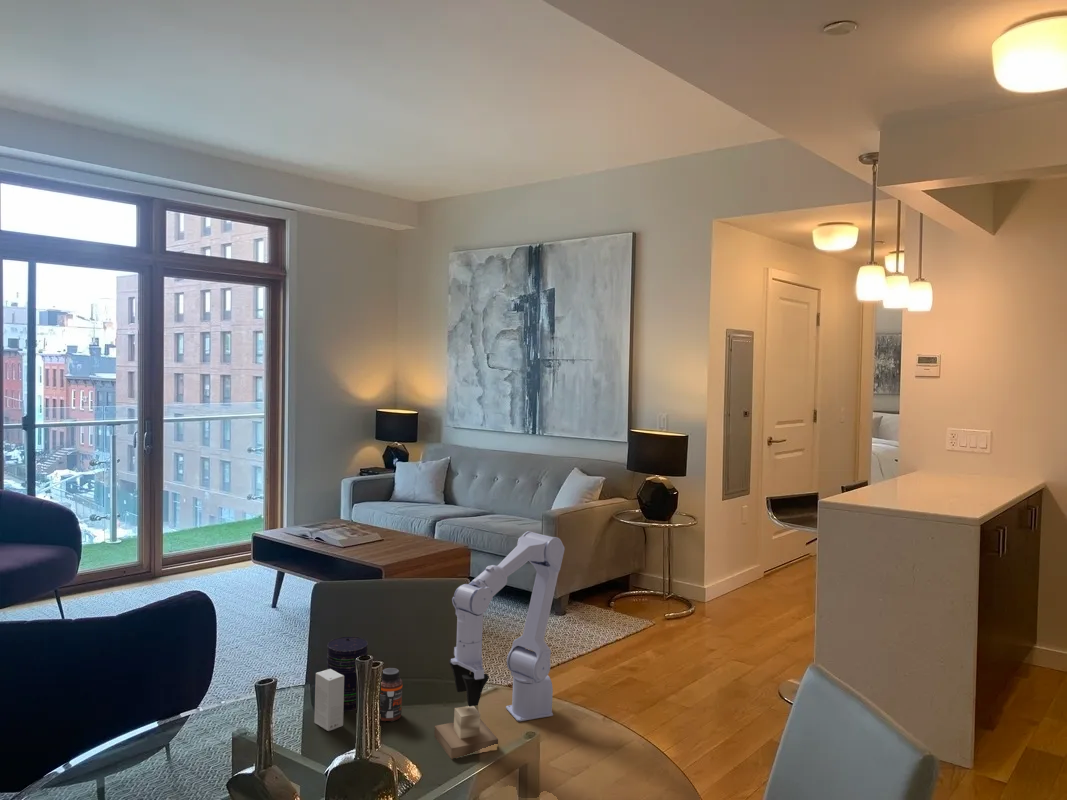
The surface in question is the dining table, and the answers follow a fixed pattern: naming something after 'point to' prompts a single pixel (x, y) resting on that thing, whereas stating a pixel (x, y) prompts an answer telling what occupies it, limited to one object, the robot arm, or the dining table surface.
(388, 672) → the supplement bottle
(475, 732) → the maple block
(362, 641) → the storage jar
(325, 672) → the skincare box
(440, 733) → the walnut block
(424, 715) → the dining table surface
